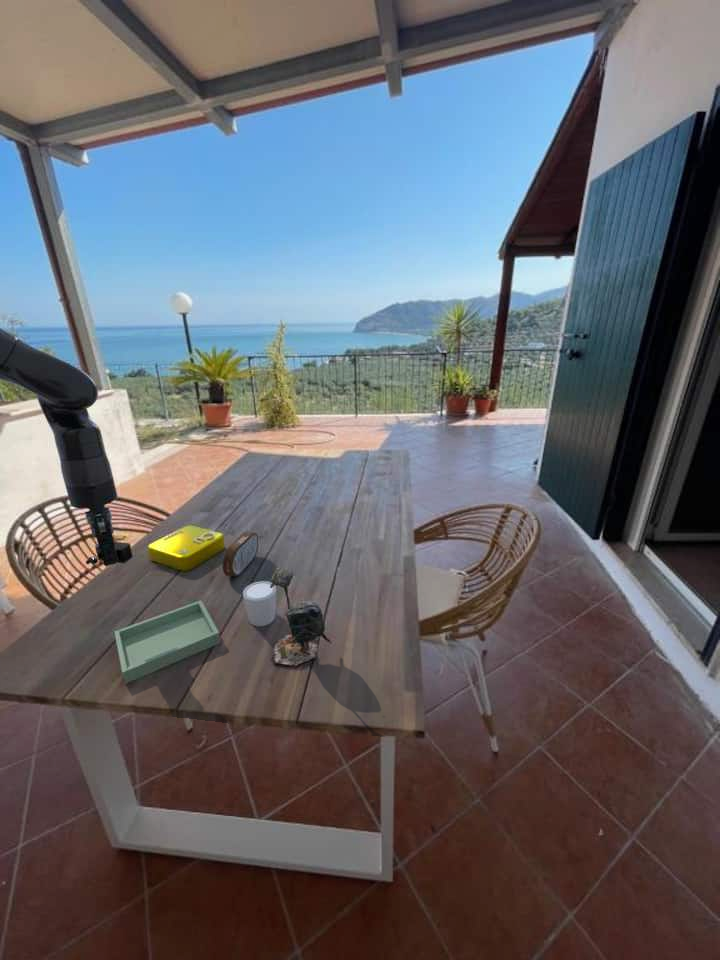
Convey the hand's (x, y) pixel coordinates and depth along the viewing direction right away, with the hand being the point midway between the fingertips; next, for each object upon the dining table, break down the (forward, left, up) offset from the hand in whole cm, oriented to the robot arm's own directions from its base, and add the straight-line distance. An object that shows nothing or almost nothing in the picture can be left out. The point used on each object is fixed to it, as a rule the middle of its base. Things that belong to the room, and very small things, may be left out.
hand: (109, 557), depth 78 cm
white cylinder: (+24, -17, -16) cm, 33 cm away
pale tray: (+6, -13, -15) cm, 21 cm away
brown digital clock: (+28, +5, -16) cm, 33 cm away
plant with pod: (+26, -31, -16) cm, 43 cm away
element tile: (+18, +21, -16) cm, 32 cm away
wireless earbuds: (0, 0, -1) cm, 1 cm away
